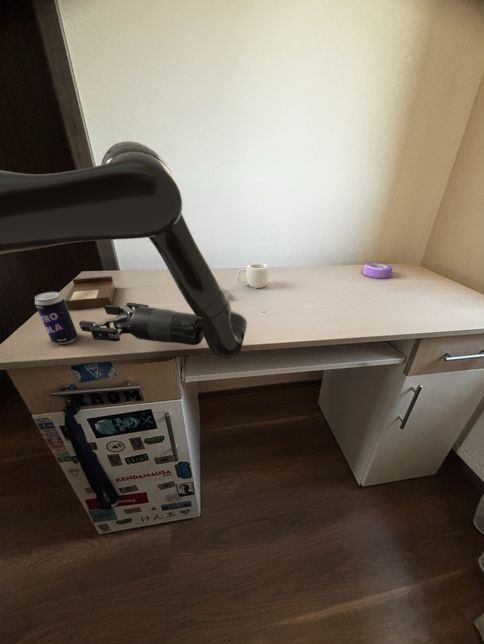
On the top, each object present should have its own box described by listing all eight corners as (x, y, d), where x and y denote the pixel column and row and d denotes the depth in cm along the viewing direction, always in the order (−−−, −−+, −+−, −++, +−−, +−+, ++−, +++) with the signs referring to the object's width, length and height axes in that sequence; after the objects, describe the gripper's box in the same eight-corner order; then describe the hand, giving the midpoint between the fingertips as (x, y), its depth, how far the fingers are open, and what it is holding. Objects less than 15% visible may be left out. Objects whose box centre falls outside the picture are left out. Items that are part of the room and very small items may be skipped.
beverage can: (51, 338, 72) (31, 294, 65) (76, 332, 75) (60, 289, 68) (53, 348, 68) (33, 302, 61) (80, 341, 71) (63, 297, 64)
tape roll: (358, 270, 129) (360, 262, 127) (381, 270, 131) (383, 261, 129) (370, 279, 120) (373, 270, 118) (395, 278, 122) (398, 269, 119)
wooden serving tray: (67, 310, 85) (62, 296, 83) (77, 291, 98) (73, 278, 95) (111, 305, 89) (107, 292, 86) (115, 288, 101) (111, 275, 99)
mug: (267, 282, 112) (268, 262, 108) (269, 289, 105) (270, 269, 101) (237, 281, 111) (236, 261, 107) (237, 289, 104) (236, 268, 100)
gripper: (170, 297, 67) (109, 290, 70) (137, 325, 56) (65, 315, 58) (174, 325, 72) (116, 317, 74) (145, 356, 60) (77, 346, 62)
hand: (94, 317), depth 66 cm, fingers open, 8 cm apart
